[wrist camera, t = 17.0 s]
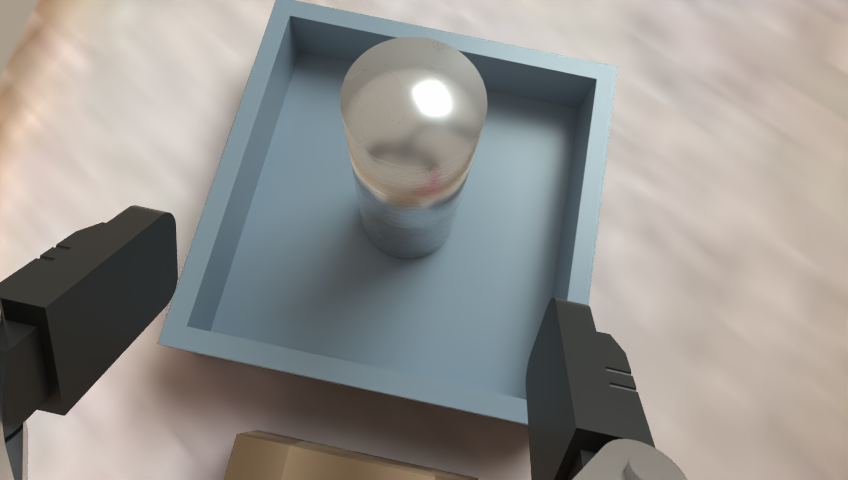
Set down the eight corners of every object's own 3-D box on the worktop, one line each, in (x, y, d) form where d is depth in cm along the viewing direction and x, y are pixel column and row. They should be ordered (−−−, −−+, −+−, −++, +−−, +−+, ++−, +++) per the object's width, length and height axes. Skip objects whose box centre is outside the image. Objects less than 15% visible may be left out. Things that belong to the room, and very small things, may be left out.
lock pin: (461, 182, 25) (497, 51, 16) (444, 267, 24) (473, 180, 15) (373, 164, 25) (358, 24, 16) (352, 249, 24) (324, 150, 15)
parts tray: (590, 108, 27) (617, 66, 24) (546, 429, 23) (572, 433, 20) (291, 46, 28) (277, -4, 24) (192, 352, 23) (157, 343, 20)
